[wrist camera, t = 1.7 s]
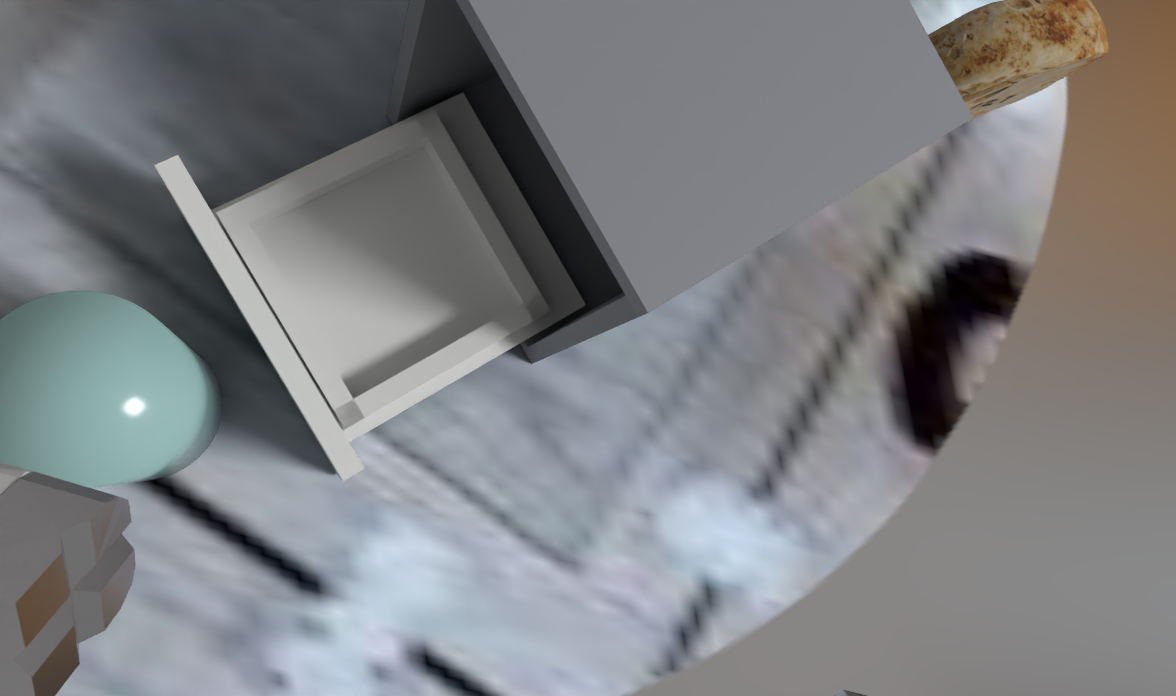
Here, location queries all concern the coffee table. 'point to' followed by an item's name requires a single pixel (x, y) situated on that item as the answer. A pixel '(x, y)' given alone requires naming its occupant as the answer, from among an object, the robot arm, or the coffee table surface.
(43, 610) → the robot arm
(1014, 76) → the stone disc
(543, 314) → the tray
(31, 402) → the sage green cylinder
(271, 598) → the coffee table surface
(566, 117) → the housing
